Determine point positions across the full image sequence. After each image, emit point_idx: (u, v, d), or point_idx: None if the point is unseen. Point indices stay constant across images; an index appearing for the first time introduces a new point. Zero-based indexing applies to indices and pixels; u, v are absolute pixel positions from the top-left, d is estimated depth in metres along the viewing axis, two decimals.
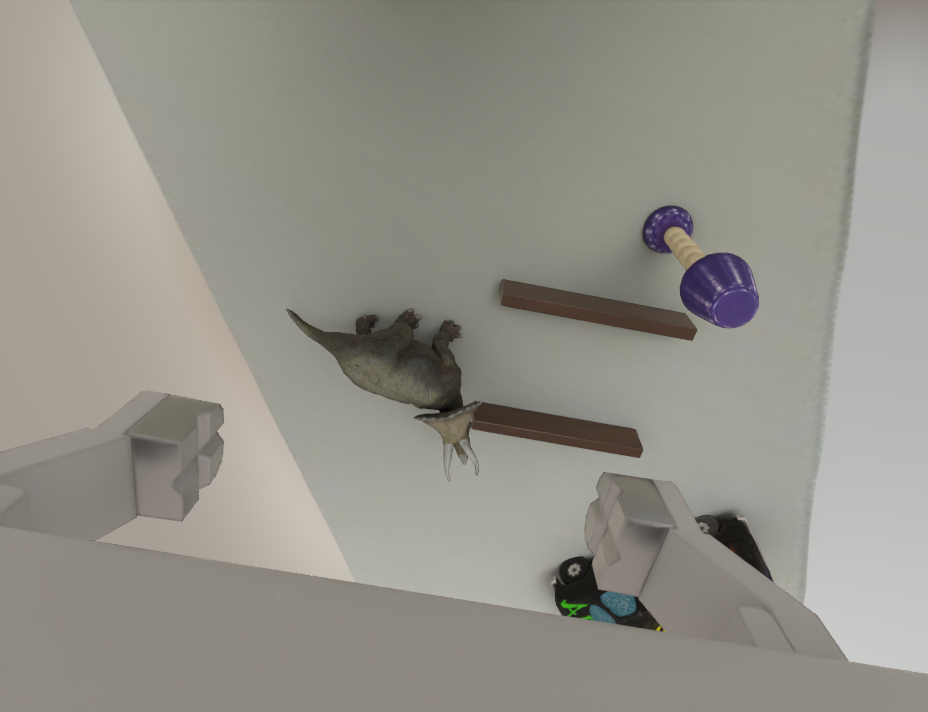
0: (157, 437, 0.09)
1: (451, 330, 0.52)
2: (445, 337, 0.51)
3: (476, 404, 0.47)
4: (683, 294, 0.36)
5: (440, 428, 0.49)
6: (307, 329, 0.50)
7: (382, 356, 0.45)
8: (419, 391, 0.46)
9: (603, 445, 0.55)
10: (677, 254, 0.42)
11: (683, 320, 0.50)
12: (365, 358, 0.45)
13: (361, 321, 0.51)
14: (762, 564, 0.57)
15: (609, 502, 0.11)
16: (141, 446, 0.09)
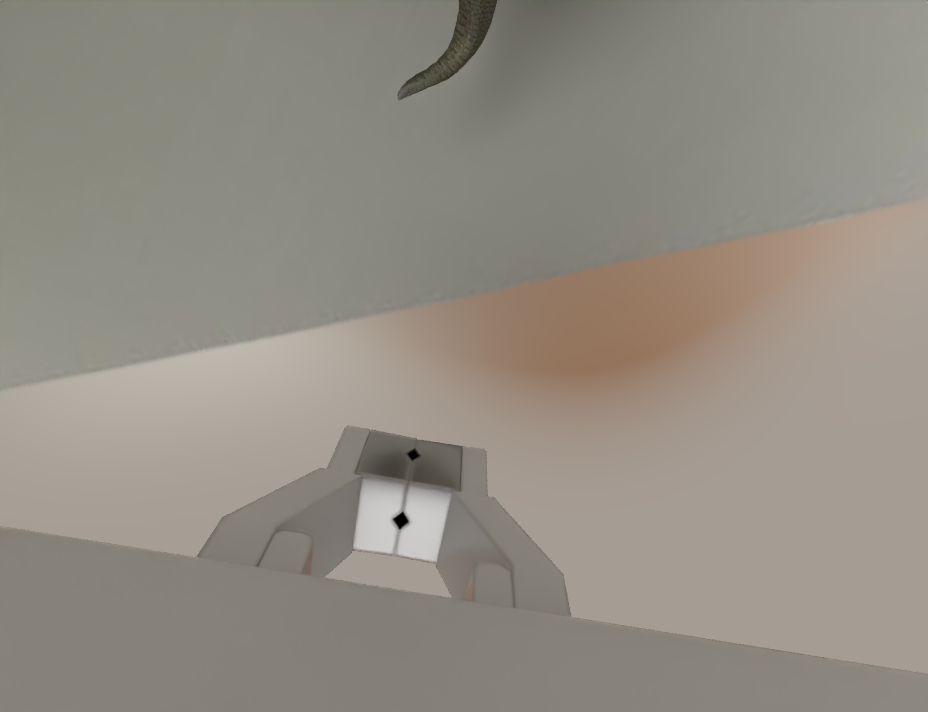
0: (385, 476, 0.09)
1: None
2: None
3: None
4: None
5: None
6: (457, 42, 0.18)
7: None
8: None
9: None
10: None
11: None
12: None
13: None
14: None
15: None
16: (370, 485, 0.09)
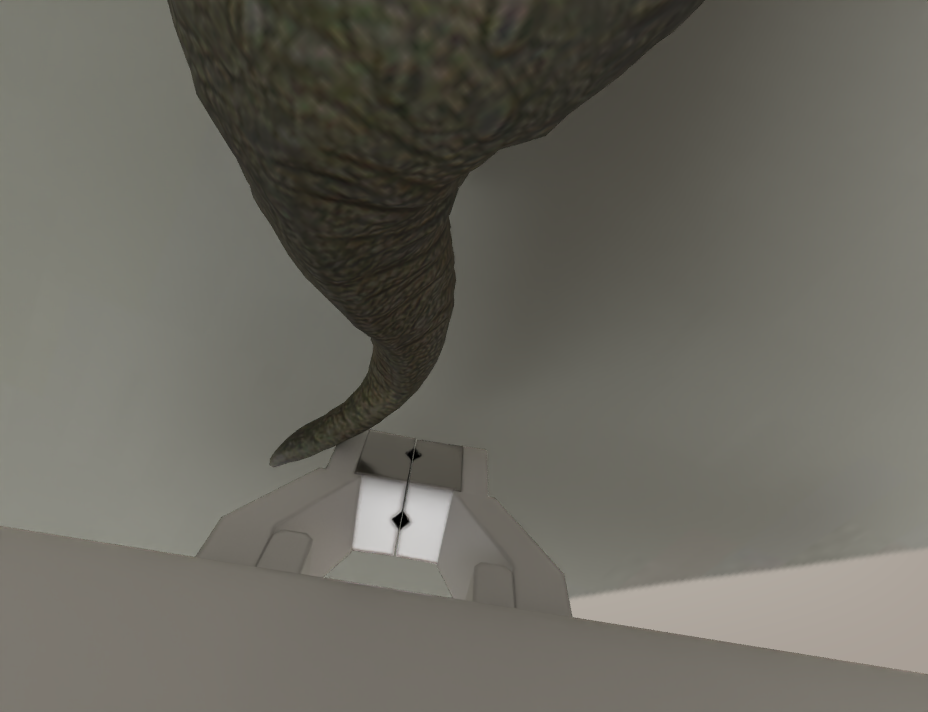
0: (385, 476, 0.09)
1: None
2: None
3: None
4: None
5: None
6: (373, 391, 0.09)
7: None
8: None
9: None
10: None
11: None
12: None
13: None
14: None
15: None
16: (369, 484, 0.09)
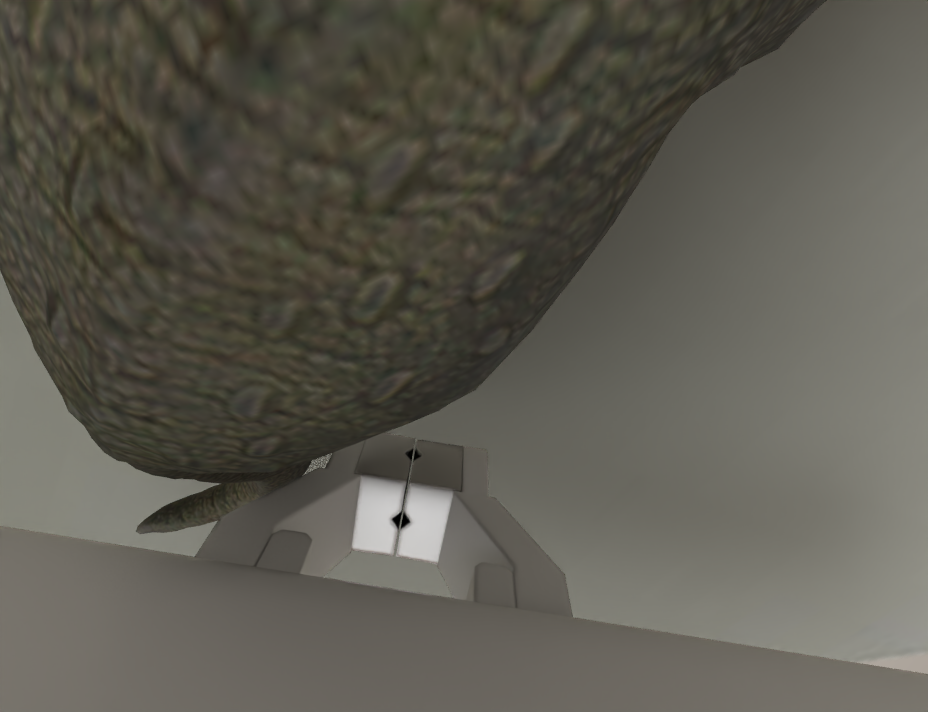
0: (384, 476, 0.09)
1: None
2: None
3: None
4: None
5: None
6: (242, 488, 0.10)
7: None
8: None
9: None
10: None
11: None
12: None
13: None
14: None
15: None
16: (368, 485, 0.09)
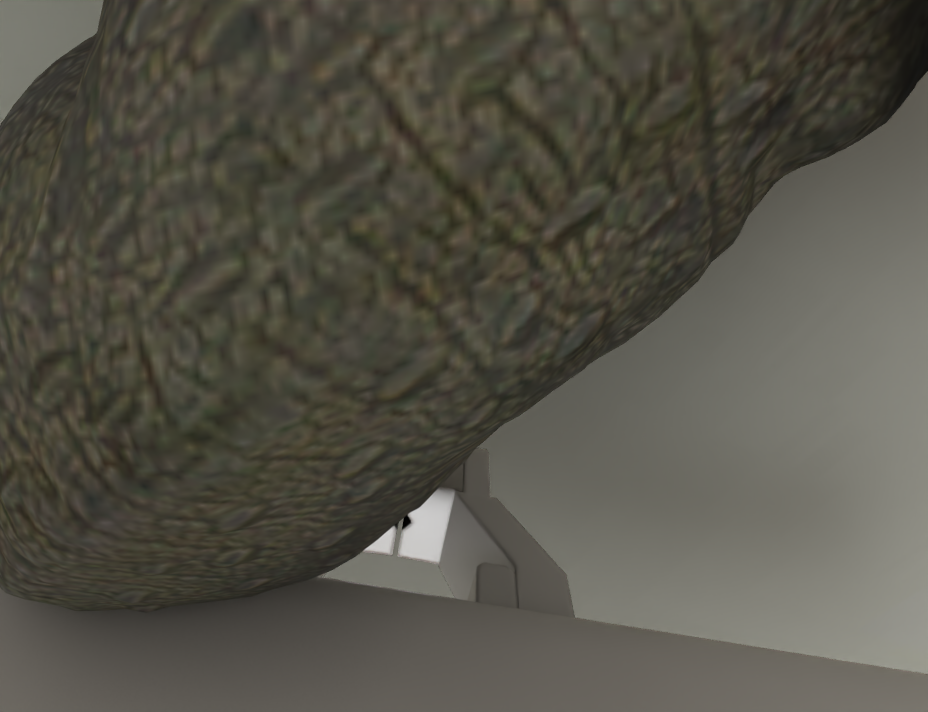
0: None
1: None
2: None
3: None
4: None
5: None
6: None
7: None
8: None
9: None
10: None
11: None
12: None
13: None
14: None
15: None
16: None
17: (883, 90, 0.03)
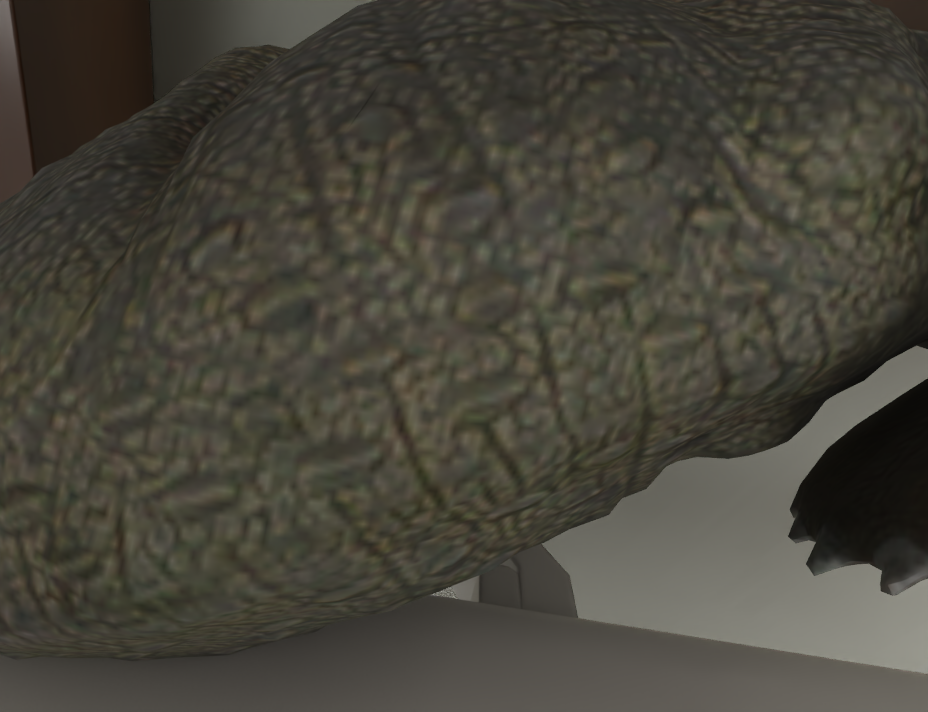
0: None
1: None
2: None
3: None
4: None
5: None
6: None
7: None
8: (636, 258, 0.03)
9: None
10: None
11: None
12: None
13: None
14: None
15: None
16: None
17: (776, 438, 0.04)
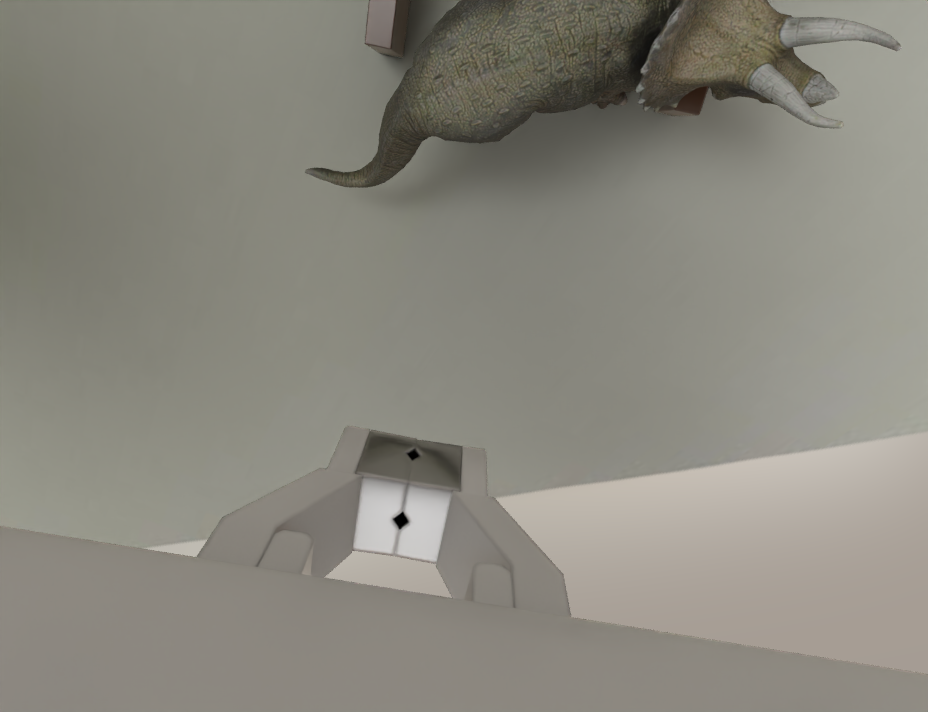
0: (385, 476, 0.09)
1: None
2: None
3: None
4: None
5: (711, 63, 0.19)
6: (359, 175, 0.26)
7: (465, 12, 0.19)
8: (595, 4, 0.18)
9: None
10: None
11: None
12: (439, 48, 0.19)
13: None
14: None
15: None
16: (370, 485, 0.09)
17: (627, 58, 0.19)
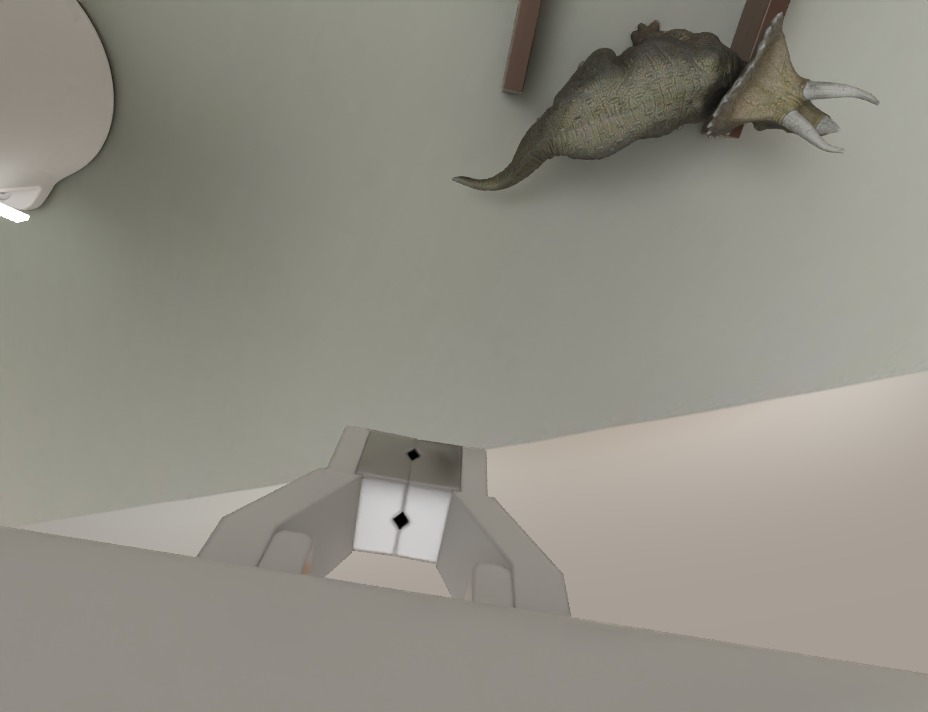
0: (385, 476, 0.09)
1: (649, 31, 0.34)
2: (651, 31, 0.32)
3: None
4: None
5: (756, 108, 0.29)
6: (492, 181, 0.35)
7: (597, 75, 0.28)
8: (684, 72, 0.28)
9: None
10: None
11: None
12: (579, 99, 0.28)
13: None
14: None
15: None
16: (370, 485, 0.09)
17: (702, 105, 0.29)
